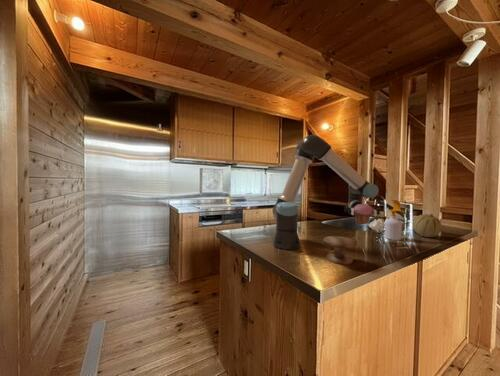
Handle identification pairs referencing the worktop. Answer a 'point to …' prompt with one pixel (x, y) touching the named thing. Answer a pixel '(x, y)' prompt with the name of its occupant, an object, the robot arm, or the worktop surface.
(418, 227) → the cantaloupe
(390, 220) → the soap bottle
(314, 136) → the robot arm
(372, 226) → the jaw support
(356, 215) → the cupcake
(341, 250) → the cake stand
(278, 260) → the worktop surface
